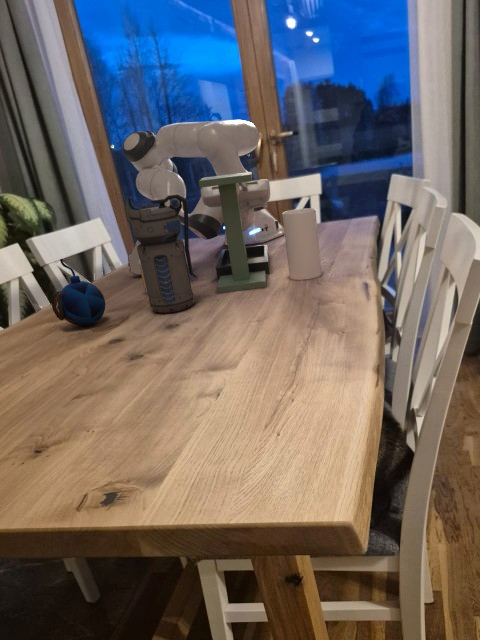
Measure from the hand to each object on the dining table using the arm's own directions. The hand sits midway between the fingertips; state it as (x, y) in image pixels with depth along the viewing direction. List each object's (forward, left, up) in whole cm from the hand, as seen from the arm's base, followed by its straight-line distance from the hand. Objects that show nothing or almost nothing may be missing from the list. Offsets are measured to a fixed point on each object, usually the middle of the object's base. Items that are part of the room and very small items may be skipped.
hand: (233, 180), depth 163 cm
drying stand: (+19, +19, -23) cm, 36 cm away
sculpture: (+16, -25, -23) cm, 38 cm away
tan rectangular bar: (+4, +4, -3) cm, 6 cm away
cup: (+7, +30, -23) cm, 39 cm away
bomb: (+58, +9, -23) cm, 64 cm away
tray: (+4, +4, -23) cm, 24 cm away
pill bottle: (+32, 0, -23) cm, 40 cm away
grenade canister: (+40, +19, -23) cm, 50 cm away
